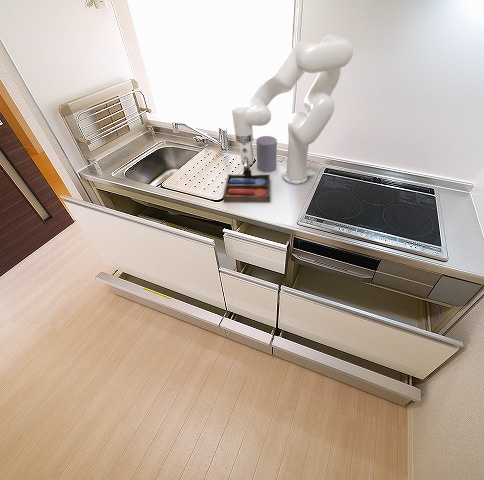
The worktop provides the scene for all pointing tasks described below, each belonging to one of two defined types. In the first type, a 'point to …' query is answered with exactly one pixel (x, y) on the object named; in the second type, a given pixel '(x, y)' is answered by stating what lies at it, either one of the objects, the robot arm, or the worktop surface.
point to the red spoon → (246, 192)
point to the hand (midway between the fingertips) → (248, 171)
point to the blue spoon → (247, 181)
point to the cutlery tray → (247, 186)
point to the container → (266, 153)
